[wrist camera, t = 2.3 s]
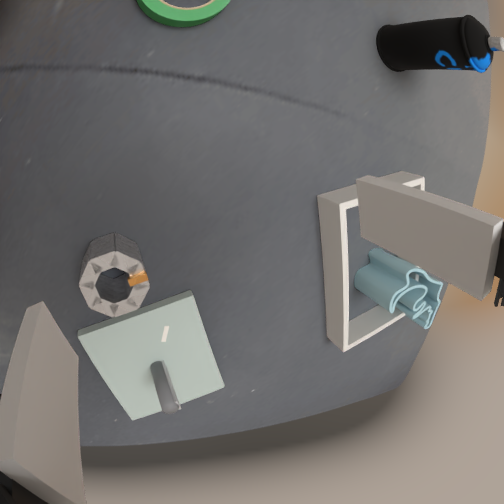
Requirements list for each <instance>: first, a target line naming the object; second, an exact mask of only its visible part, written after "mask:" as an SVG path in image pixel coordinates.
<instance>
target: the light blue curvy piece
mask: <svg viewBox="0 0 504 504" xmlns="http://www.w3.org/2000/svg"><path fill="white" fill-rule="evenodd" d="M368 255H369V258H370V263H369V264H368V265H366V266H364V267H362V268H360V269H359V270H358V271H357V273H356V275H355V279H354V285H355V288H356V289H358V290H359V291H361V292H362V293H363V294H365V295H366V296H368V297H369V298H371V299H372V300H373V301H375V302H376V303H378V304H379V305H380V306H382V307H383V308H385V309H386V310H387V311H389V312H390V313H393V312H394V310H395V307H396V308H398V309H399V310H401V311H402V312H403V313H405V314H406V315H405V316H407V317H408V318H410V319H411V320H413V321H414V322H415V323H417V324H418V325H420V326H421V327H423V328H424V329H427V328H429V327H430V326H431V324H432V322H433V319H434V316H435V313H436V311H437V309H438V307H439V305H440V302H441V301H440V300H439V293H440V291H441V288H442V286H443V283H442V282H440V281H439V280H437V279H435V278H433V277H431V276H430V275H428V274H427V273H426V272H425V271H424V270H422V269H420V268H418V267H417V266H415V265H413V264H411V263H409V262H407V261H405V260H402V259H400V258H398V257H395V256H393V255H390V254H388V253H386V252H385V251H384V250H383V249H381V248H375V249H372V250H371V251H370V252H369V254H368ZM411 272H414V273H416V274H418V275H419V280H418V281H416V280H414V279H413V278H411V277H409V274H410V273H411Z"/></svg>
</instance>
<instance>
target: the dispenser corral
mask: <svg viewBox="0 0 504 504" xmlns="http://www.w3.org/2000/svg"><path fill="white" fill-rule="evenodd" d="M378 178H381V179H385V180H388V181H392V182H396V183H399V184H402V185H406V186H409V187H413V188H416V189H419V190H422V191H424V177H423V176H419V175H415V174H412V173H408V172H404V171H400V172H396V173H393V174H389V175H386V176H382V177H378ZM317 201H318V211H319V221H320V233H321V245H322V258H323V272H324V287H325V305H326V327H327V337H328V338H329V339H330V340H331V341H332V342H333V343H334V344H335V345H336V346H337V347H338V348H339V349H340V350H341V351H342V352H345V351H347V350H348V349H350V348H352V347H354V346H355V345H357V344H359V343H361V342H362V341H364V340H366V339H367V338H369V337H371V336H372V335H374V334H376V333H377V332H379V331H381V330H382V329H384V328H386V327H387V326H389V325H390V324H392V323H394V322H395V321H397V320H398V319H400V318H401V317H403V316H405V315H406V314H405V313H403V312H402V311H401V310H399V309H398V308H396V307H395V310H394V312H393V313H390V312H389V311H387V310H386V309H385V308H383V307H382V306H380V305H377V306H375V307H374V308H372V309H370V310H368V311H366V312H365V313H363V314H361V315H359V316H357V317H355V318H354V319H352V320H350V321H349V278H348V243H347V222H346V209H349V208H352V207H355V206H358V196H357V186H356V184H354V185H351V186H347V187H344V188H340V189H337V190H334V191H330V192H327V193H324V194H320V195H317ZM397 257H398V258H400V259H402V260H405V259H404V258H402V257H400V256H398V255H397ZM405 261H407V260H405ZM407 262H409V261H407ZM409 263H411V262H409ZM411 264H413V263H411ZM413 265H415V264H413ZM415 266H417V265H415ZM417 267H418V268H420V267H419V266H417ZM409 277H411V278H413V279H414V280H416V281H418V280H419V275H418V274H416V273H414V272H411V273H410V274H409Z"/></svg>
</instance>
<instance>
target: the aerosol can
mask: <svg viewBox="0 0 504 504" xmlns="http://www.w3.org/2000/svg"><path fill="white" fill-rule="evenodd" d="M377 47H378V51H379V54H380V56H381V58H382V60H383V62H384V63H385V64H386V65H387V66H388V67H389V68H390V69H392V70H394V71H397V72H401V71H404V70H419V69H450V70H476V71H477V72H480V73H482V72H485V71H486V70H487V68H488V67H489V65H490V64H491V62H492V59H493V51H503V52H504V39H503V38H502V37H490V35H489V33H488V31H487V30H486V28H485V27H484V26H483V25H482V24H481V23H480V22H479V21H477V20H476V19H475V18H474V17H473V16H471V15H465V16H464V17H457V18H445V19H435V20H427V21H419V22H412V23H405V24H399V25H385V26H383V27H382V28H381V29H380V30H379V32H378V35H377Z"/></svg>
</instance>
